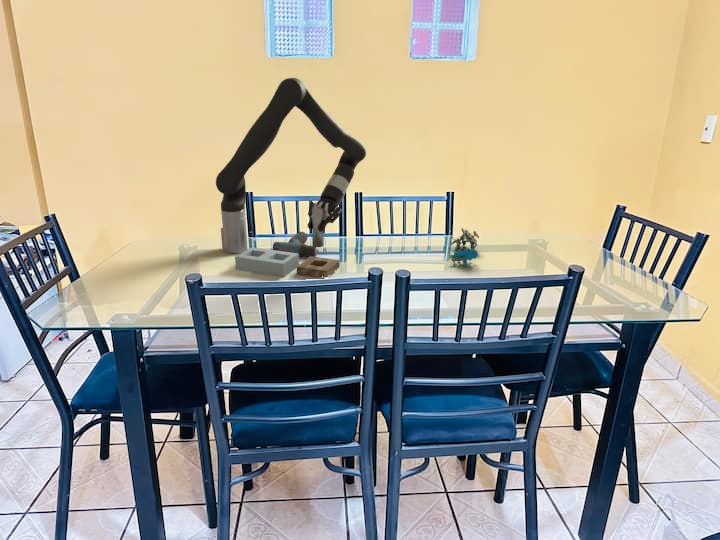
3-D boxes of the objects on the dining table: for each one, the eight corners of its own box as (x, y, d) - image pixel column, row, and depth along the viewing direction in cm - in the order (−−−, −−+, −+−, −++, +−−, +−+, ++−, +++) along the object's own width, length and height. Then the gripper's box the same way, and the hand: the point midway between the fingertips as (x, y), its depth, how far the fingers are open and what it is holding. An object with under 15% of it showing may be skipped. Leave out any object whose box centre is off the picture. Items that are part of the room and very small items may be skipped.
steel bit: (310, 246, 177) (310, 208, 172) (315, 243, 181) (314, 206, 176) (320, 247, 176) (320, 209, 171) (325, 244, 180) (325, 207, 175)
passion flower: (471, 263, 208) (482, 246, 199) (447, 258, 208) (456, 241, 198) (471, 242, 215) (481, 225, 205) (447, 237, 214) (456, 220, 204)
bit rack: (235, 269, 182) (234, 256, 180) (252, 259, 192) (252, 247, 191) (284, 276, 176) (283, 263, 174) (299, 265, 186) (298, 253, 185)
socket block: (296, 274, 178) (296, 266, 177) (310, 263, 189) (310, 256, 188) (327, 278, 175) (327, 271, 174) (339, 267, 185) (339, 260, 184)
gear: (476, 257, 194) (478, 246, 185) (478, 271, 192) (480, 260, 183) (448, 259, 196) (449, 248, 187) (450, 273, 193) (450, 262, 184)
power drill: (330, 245, 212) (316, 260, 194) (290, 241, 216) (272, 256, 198) (330, 233, 210) (316, 247, 192) (289, 229, 214) (271, 243, 196)
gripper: (315, 181, 180) (294, 220, 175) (346, 186, 173) (325, 227, 168) (324, 193, 186) (304, 231, 181) (355, 199, 179) (334, 238, 174)
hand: (314, 229), depth 175 cm, fingers closed on steel bit, 4 cm apart
